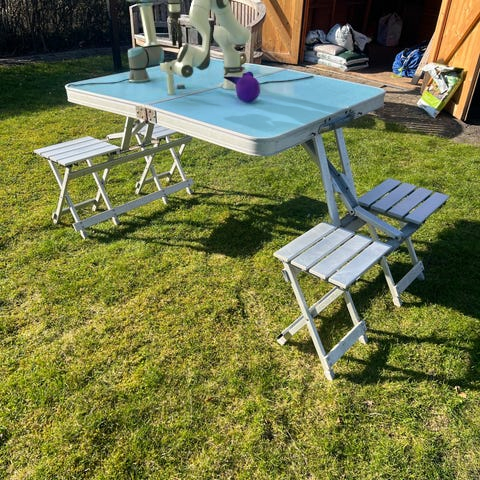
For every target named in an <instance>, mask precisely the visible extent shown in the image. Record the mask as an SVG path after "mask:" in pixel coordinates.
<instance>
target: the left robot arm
mask: <svg viewBox="0 0 480 480" xmlns="http://www.w3.org/2000/svg"><path fill="white" fill-rule="evenodd" d="M125 1H126V2H129V3H136V6H137V7H138V8H139V12H140V18H141V25H142V29H143V30H142V31H143V35H144V36H143V37H144V41H145V44H144V46H135V47H131V48H129V49H127V57H128V66H129V76H128V78H126V79H123V80H119V81H113V82H89V83H88V82H87V83H80V84H71V83H70V84H68V85H67V88H69V87H70V86H71V87H72V86H73V87H74V86H75V87H80V86H85V85H86V86H87V85H107V84H109V85H110V84H118V83H122V82H125V81H126V82H127V81H128V82H129V83H133V84H141V83H148V82H150V76H149V74H148V71H147V67H146V66H153V65H160V63H164V60H165V51H164V48H163V47H162V46H161V44H160V43H159V42H158V39H157V32H156V26H155V21H154V14H153V7H152V6H153V5H154V2H167V5H168V6H167V8H168V11H169V12H168V18H169V19H170V30H169V31H170V33H169V34H170V35H171V43H172V47H178V49H180V48H181V47H182V46H183V36H184V35H183V29H182V25H181V20H180V19H181V18H182V13H181V4H180V3H181V2H180V0H125ZM72 131H73V133H75V129H73V130H72Z"/></svg>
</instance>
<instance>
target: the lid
mask: <svg viewBox="0 0 480 480" xmlns="http://www.w3.org/2000/svg"><path fill="white" fill-rule="evenodd" d="M176 86H177V87H176V89H178V90H183V89H185V88H186V87H185V84H184V83H179V84H176Z"/></svg>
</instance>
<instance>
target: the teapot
mask: <svg viewBox="0 0 480 480" xmlns="http://www.w3.org/2000/svg"><path fill="white" fill-rule="evenodd" d="M239 54H240V66H242V67H243V65H245V64H246V63H247V55H246V52H241V53H239ZM241 58H242V59H241ZM222 61H223V62H222V63H223V64H224V59H223V60H222Z"/></svg>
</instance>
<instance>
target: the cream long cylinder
mask: <svg viewBox="0 0 480 480" xmlns="http://www.w3.org/2000/svg"><path fill="white" fill-rule="evenodd" d="M165 74H166V73H165ZM166 85H167V94H168V95H169V96H173V95H176V88H175V87H176V86H175V77H174V74H166Z"/></svg>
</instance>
